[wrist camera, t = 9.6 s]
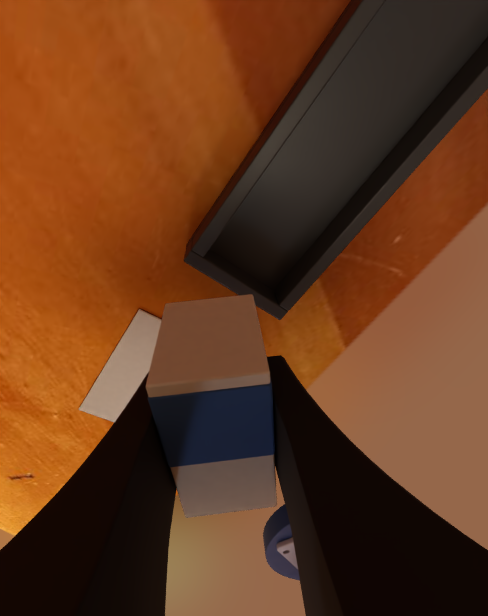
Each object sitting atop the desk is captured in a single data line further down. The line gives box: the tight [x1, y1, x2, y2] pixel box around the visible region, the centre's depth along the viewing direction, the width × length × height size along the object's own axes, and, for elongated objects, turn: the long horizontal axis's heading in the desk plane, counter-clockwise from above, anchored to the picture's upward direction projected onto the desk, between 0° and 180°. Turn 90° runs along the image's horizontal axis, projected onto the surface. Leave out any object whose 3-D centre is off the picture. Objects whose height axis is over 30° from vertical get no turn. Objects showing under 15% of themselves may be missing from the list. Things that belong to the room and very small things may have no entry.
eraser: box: [146, 294, 277, 518], centre depth 10 cm, size 5×3×4 cm, turn 5°
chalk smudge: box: [79, 309, 162, 422], centre depth 19 cm, size 8×4×1 cm, turn 146°
